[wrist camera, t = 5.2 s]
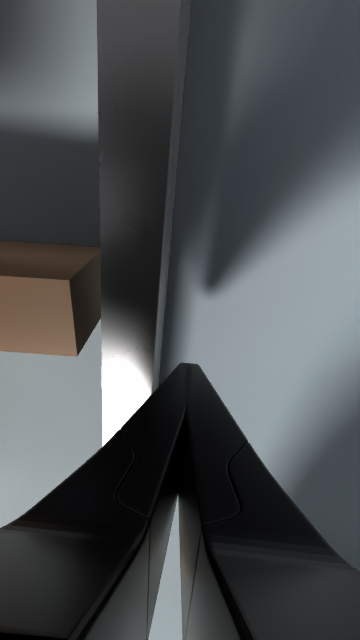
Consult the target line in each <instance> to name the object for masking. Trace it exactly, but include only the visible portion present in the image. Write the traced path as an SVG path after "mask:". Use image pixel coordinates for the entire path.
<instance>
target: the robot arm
mask: <svg viewBox="0 0 360 640" xmlns="http://www.w3.org/2000/svg"><path fill="white" fill-rule="evenodd" d="M177 497H178V502H179V535H180V568H181V601H182V634H183V640H360V572H359V571H357V570H356V569H355V568H353V567H352V566H351V565H349V564H348V563H347V562H346V561H345V560H344V559H342V558H341V557H340V556H339V555H338V554H337V553H336V552H335V551H334V550H333V549H332V548H331V546H330V545H329V544H328V543H327V542H326V541H325V540H324V538H323V537H322V536H321V535H320V534H319V532H318V531H317V530H316V529H315V528H314V526H313V525H312V524H311V523H310V522H309V520H308V519H307V518H306V517H305V516H304V514H303V513H302V512H301V511H300V509H299V508H298V507H297V506H296V505H295V503H294V502H293V501H292V500H291V499H290V497H289V496H288V495H287V494H286V493H285V491H284V490H283V489H282V488H281V486H280V485H279V484H278V482H277V481H276V480H275V479H274V477H273V476H272V475H271V474H270V472H269V471H268V470H267V468H266V467H265V465H264V464H263V462H262V461H261V460H260V458H259V457H258V455H257V454H256V452H255V451H254V449H253V448H252V446H251V444H250V443H248V440H247V438H246V437H245V435H244V434H243V432H242V431H241V429H240V428H239V426H238V425H237V423H236V421H235V420H234V418H233V417H232V415H231V414H230V412H229V411H228V409H227V408H226V406H225V405H224V403H223V401H222V400H221V398H220V397H219V395H218V394H217V392H216V391H215V389H214V388H213V386H212V385H211V383H210V381H209V380H208V378H207V377H206V375H205V374H204V372H203V371H202V369H201V368H200V366H199V365H198V364H191V363H180V364H179V365H178V366H177V367H176V368H175V369H174V371H173V372H172V373H171V374H170V375H169V376H168V377H167V378H166V379H165V380H164V381H163V382H162V383H161V385H160V386H159V387H158V388H157V389H156V390H155V391H154V392H153V393H152V394H151V395H150V396H149V397H148V399H147V400H146V401H145V402H144V403H143V404H142V405H141V406H140V407H139V408H138V409H137V410H136V411H135V413H134V414H133V415H132V416H131V417H130V418H129V419H128V420H127V421H126V422H125V423H124V424H123V425H122V426H121V428H120V429H119V430H118V431H117V432H116V433H115V434H114V435H113V436H112V437H111V438H110V439H109V440H108V441H107V442H106V443H105V444H104V445H103V446H102V447H101V448H100V449H99V450H98V451H97V452H96V453H95V454H94V455H93V456H92V457H91V458H90V459H88V460H87V461H86V462H85V463H84V464H83V465H82V466H81V467H79V468H78V469H77V470H76V471H75V472H74V473H72V474H71V475H70V476H69V477H68V478H67V479H65V480H64V481H63V482H62V483H61V484H59V485H58V486H57V487H56V488H55V489H54V490H52V491H51V492H50V493H49V494H48V495H46V496H45V497H44V498H43V499H42V500H41V501H39V502H38V503H37V504H36V505H35V506H33V507H32V508H31V509H30V510H28V511H27V512H26V513H25V514H23V515H22V516H20V517H19V518H17V519H16V520H14V521H12V522H11V523H9V524H7V525H6V526H3V527H1V528H0V640H148V637H149V632H150V628H151V623H152V618H153V613H154V608H155V603H156V599H157V594H158V589H159V584H160V579H161V574H162V570H163V565H164V560H165V555H166V550H167V545H168V541H169V536H170V531H171V526H172V521H173V516H174V512H175V507H176V502H177Z"/></svg>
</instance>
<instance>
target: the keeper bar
mask: <svg viewBox="0 0 360 640" xmlns="http://www.w3.org/2000/svg"><path fill="white" fill-rule="evenodd" d="M191 2H192V0H97V39H98V115H99V192H100V268H101V344H102V421H103V445H104V444H105V443H106V442H107V441H108V440H109V439H110V438H111V437H112V436H113V435H114V434H115V433H116V432H117V431H118V430H119V429H120V428H121V426H122V425H123V424H124V423H125V422H126V421H127V420H128V419H129V418H130V417H131V416H132V415H133V414H134V413H135V411H136V410H137V409H138V408H139V407H140V406H141V405H142V404H143V403H144V402H145V401H146V400H147V399H148V397H149V396H150V395H151V394H152V393H153V392H154V391H155V390H156V389H157V388H158V387H159V375H160V363H161V352H162V340H163V328H164V317H165V305H166V294H167V282H168V270H169V259H170V247H171V235H172V224H173V212H174V200H175V189H176V177H177V165H178V154H179V142H180V130H181V119H182V107H183V96H184V84H185V72H186V61H187V49H188V37H189V26H190V14H191Z"/></svg>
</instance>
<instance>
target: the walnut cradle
mask: <svg viewBox="0 0 360 640" xmlns="http://www.w3.org/2000/svg"><path fill="white" fill-rule="evenodd" d="M100 318H101V268H100V247H93V246H77V245H62V244H46V243H30V242H15V241H0V351H7V352H21V353H36V354H50V355H64V356H78V354H79V353H80V351H81V350H82V348H83V346H84V345H85V343H86V341H87V340H88V338H89V336H90V335H91V333H92V331H93V330H94V328H95V326H96V325H97V323H98V322H99V320H100Z"/></svg>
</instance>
